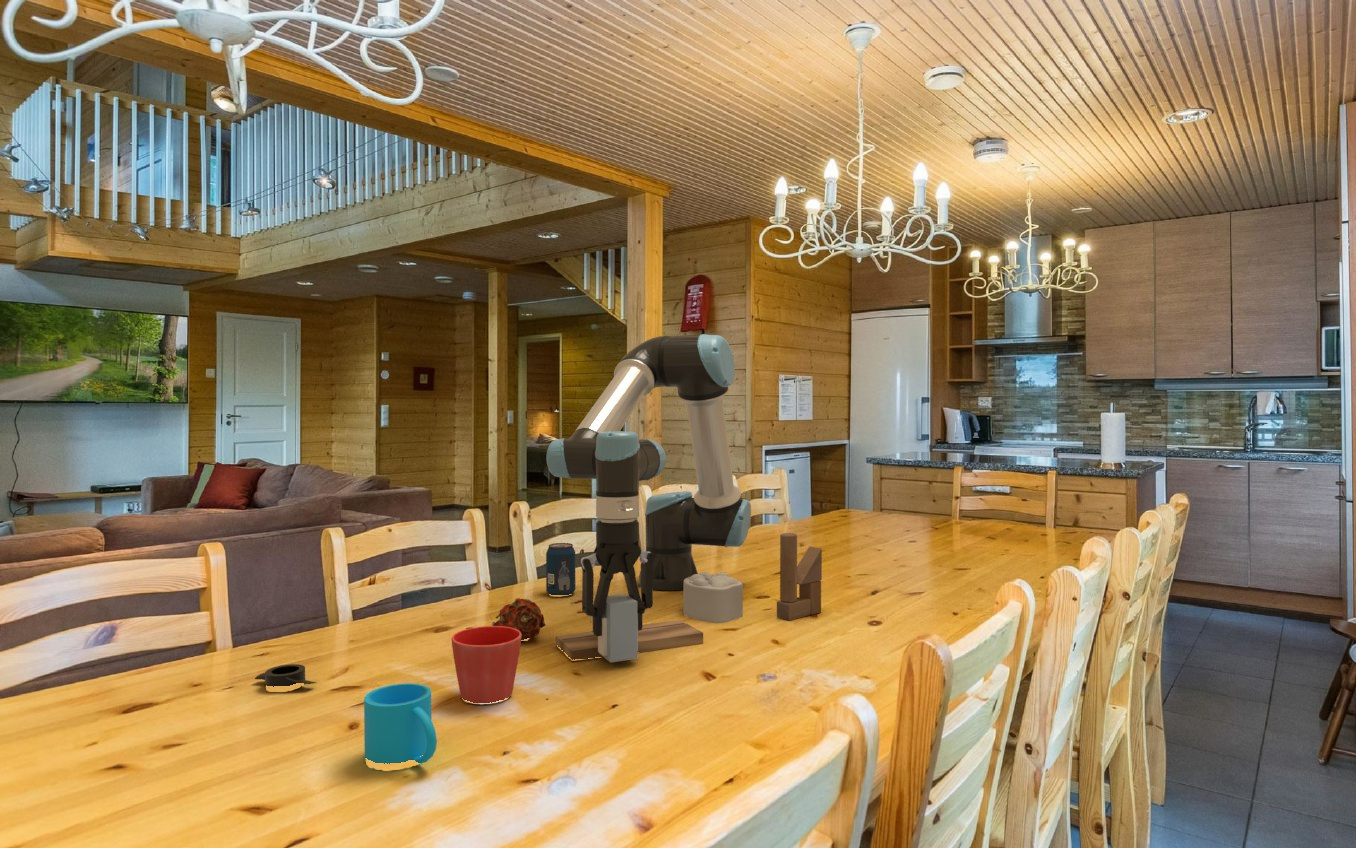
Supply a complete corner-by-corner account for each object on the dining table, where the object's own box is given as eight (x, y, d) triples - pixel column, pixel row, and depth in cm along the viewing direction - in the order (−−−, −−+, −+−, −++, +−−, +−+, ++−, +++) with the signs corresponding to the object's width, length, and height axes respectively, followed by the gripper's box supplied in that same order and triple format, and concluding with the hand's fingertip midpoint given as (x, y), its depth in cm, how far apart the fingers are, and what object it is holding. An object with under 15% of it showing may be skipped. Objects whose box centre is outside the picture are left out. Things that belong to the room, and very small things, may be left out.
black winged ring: (265, 702, 121) (264, 683, 121) (252, 684, 129) (252, 666, 129) (318, 691, 126) (318, 673, 126) (303, 674, 134) (303, 657, 134)
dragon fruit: (536, 655, 148) (502, 651, 156) (563, 621, 153) (529, 618, 162) (509, 623, 145) (476, 620, 154) (538, 590, 150) (505, 589, 159)
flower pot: (535, 688, 126) (534, 628, 126) (497, 714, 116) (497, 648, 116) (477, 681, 130) (477, 622, 130) (436, 705, 119) (436, 641, 119)
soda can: (560, 590, 194) (560, 541, 194) (581, 594, 190) (581, 544, 190) (540, 595, 188) (539, 545, 188) (561, 599, 184) (561, 548, 184)
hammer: (582, 639, 149) (582, 586, 148) (607, 635, 151) (607, 583, 151) (610, 662, 135) (610, 604, 135) (637, 658, 137) (637, 601, 137)
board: (555, 646, 148) (555, 635, 148) (680, 629, 159) (680, 619, 159) (572, 662, 139) (572, 650, 139) (703, 643, 150) (703, 632, 150)
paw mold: (718, 625, 163) (719, 583, 163) (671, 614, 172) (671, 574, 172) (748, 615, 171) (748, 575, 171) (702, 605, 180) (702, 567, 179)
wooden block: (821, 612, 173) (822, 530, 172) (788, 621, 166) (789, 536, 165) (808, 609, 175) (809, 528, 175) (775, 617, 169) (776, 533, 168)
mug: (352, 759, 101) (351, 696, 101) (408, 738, 108) (408, 679, 107) (404, 788, 94) (404, 719, 93) (462, 763, 100) (461, 699, 100)
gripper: (574, 526, 131) (575, 665, 132) (673, 519, 139) (673, 650, 139) (561, 520, 138) (562, 652, 138) (656, 513, 146) (656, 639, 146)
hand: (617, 651), depth 139 cm, fingers closed on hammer, 5 cm apart
